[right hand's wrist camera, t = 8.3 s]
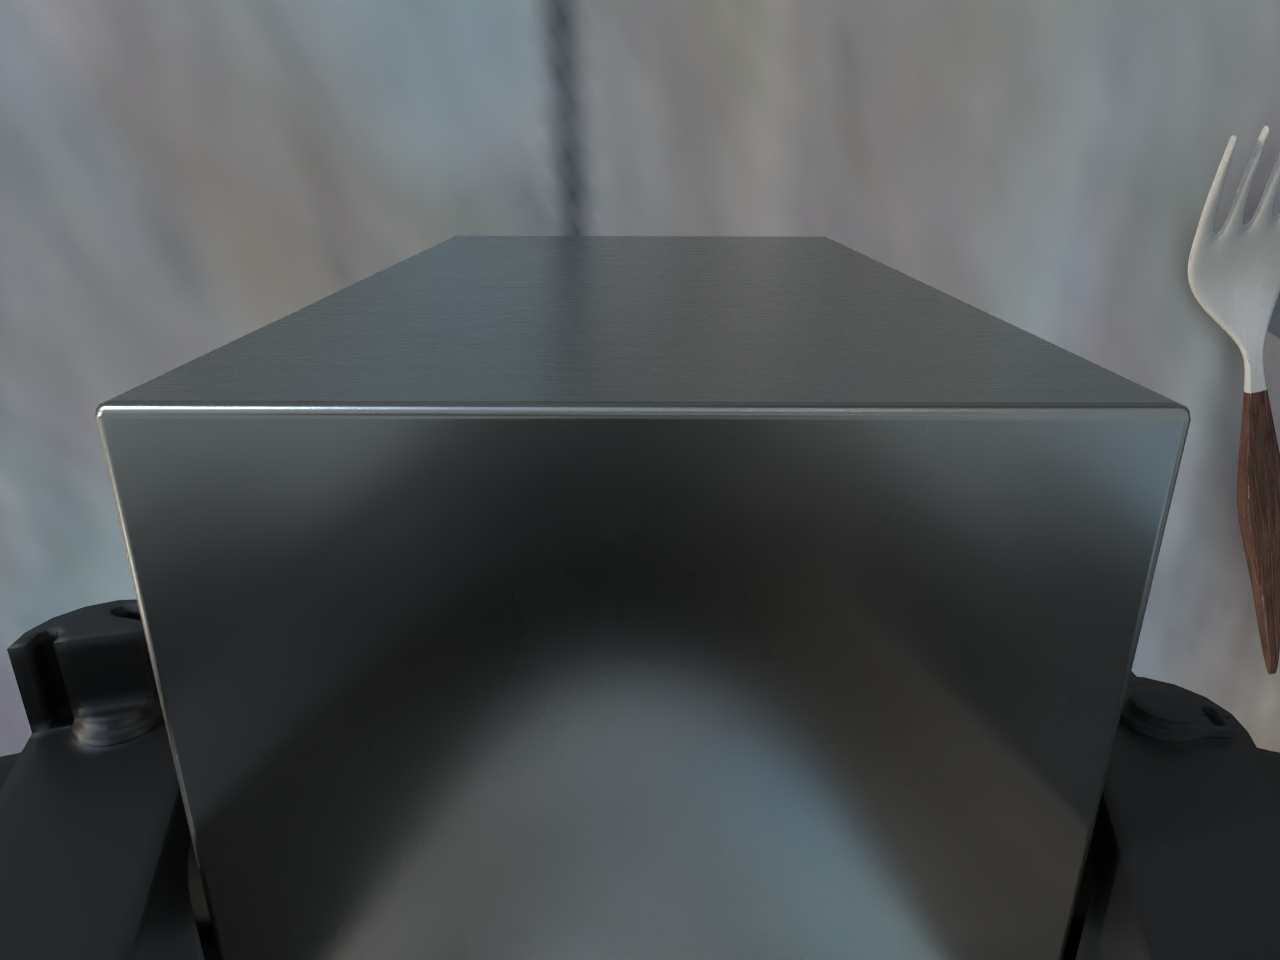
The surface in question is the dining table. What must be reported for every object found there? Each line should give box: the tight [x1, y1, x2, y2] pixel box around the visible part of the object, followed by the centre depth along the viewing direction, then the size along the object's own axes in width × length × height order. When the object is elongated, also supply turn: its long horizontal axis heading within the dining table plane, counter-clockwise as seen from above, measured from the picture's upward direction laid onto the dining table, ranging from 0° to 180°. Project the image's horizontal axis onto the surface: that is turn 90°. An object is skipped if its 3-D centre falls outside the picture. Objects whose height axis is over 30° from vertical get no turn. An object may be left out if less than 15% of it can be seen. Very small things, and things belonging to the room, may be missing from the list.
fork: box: [1188, 126, 1280, 674], centre depth 23 cm, size 3×16×2 cm, turn 17°
